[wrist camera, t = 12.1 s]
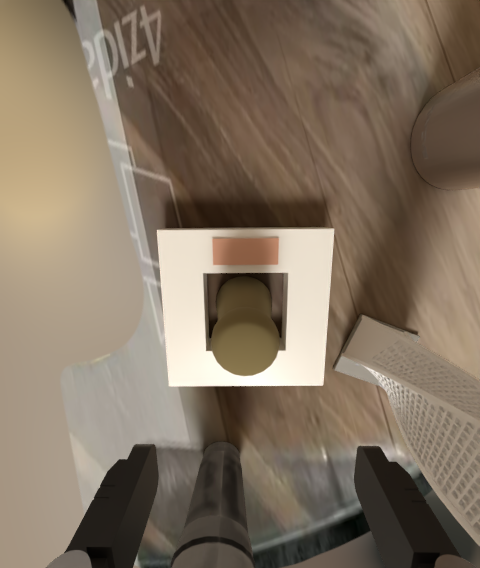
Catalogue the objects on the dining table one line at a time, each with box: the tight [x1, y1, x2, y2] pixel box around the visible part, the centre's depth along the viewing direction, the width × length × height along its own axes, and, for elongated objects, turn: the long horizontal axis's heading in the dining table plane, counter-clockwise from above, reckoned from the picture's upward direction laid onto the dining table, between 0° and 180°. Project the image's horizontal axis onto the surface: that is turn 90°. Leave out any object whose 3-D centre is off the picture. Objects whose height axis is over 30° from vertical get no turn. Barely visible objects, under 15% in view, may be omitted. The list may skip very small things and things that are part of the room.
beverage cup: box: [171, 442, 255, 568], centre depth 26 cm, size 7×7×20 cm
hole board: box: [157, 227, 334, 386], centre depth 29 cm, size 16×16×3 cm
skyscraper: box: [333, 314, 480, 546], centre depth 18 cm, size 8×8×28 cm
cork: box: [211, 276, 280, 376], centre depth 25 cm, size 6×6×11 cm
